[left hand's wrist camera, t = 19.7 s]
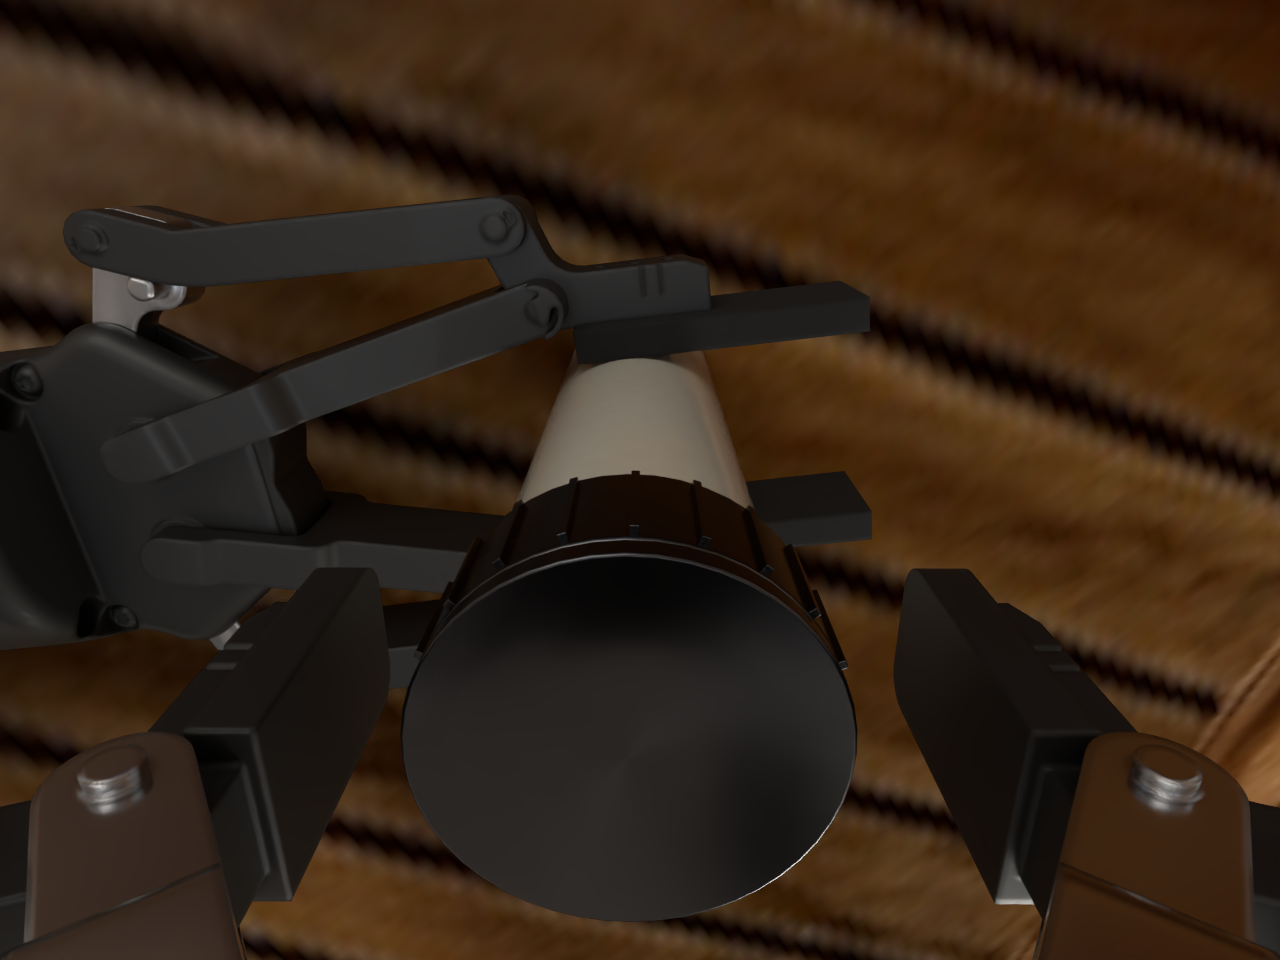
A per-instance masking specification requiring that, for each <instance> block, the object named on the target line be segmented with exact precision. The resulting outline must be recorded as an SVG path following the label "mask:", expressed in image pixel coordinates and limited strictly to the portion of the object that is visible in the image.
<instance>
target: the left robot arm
mask: <svg viewBox="0 0 1280 960" xmlns="http://www.w3.org/2000/svg"><path fill="white" fill-rule="evenodd" d="M389 684H390V658H389V651H388V643H387V636H386V629H385V621H384V614H383V607H382V599H381V592H380V585H379V580H378V577H377V574H376V572H375V570H374V569H373V568H370V567H320V568H316V569H315V570H314V571H313V572H312V573H311V574H310V575H309V577H308V578H307V579H306V580H305V582H304V583H303V584H302V585H301V586H300V588H299V589H298V590H297V591H296V593H295V594H294V595H293V596H292V597H291V599H290V600H289V601H288V602H276V603H274V604H273V605H271V606H269V607H268V608H266V609H264V610H263V611H261V612H259V613H258V614H256V615H255V616H253V617H251V618H250V619H248V620H246V621H245V622H244V623H243V624H242V625H241V626H240V627H239V628H238V630H237V631H236V632H235V633H234V634H233V635H232V636H231V637H230V639H229V640H228V641H227V642H226V643H225V644H224V649H223V650H219V651H218V652H217V653H216V655H215V656H214V657H213V658H212V659H211V660H210V661H209V662H208V664H207V668H206V670H201V672H200V673H199V674H198V675H197V676H196V677H195V678H194V680H193V681H192V682H191V683H190V684H189V685H188V686H187V687H186V689H185V690H184V691H183V692H182V693H181V694H180V695H179V697H178V698H177V699H176V700H175V701H174V702H173V703H172V705H171V706H170V707H169V708H168V709H167V710H166V711H165V712H164V714H163V715H162V716H161V717H160V718H159V719H158V720H157V722H156V723H155V724H154V725H153V726H152V727H151V728H150V730H149V731H148V732H143V733H136V734H131V735H126V736H122V737H119V738H115V739H112V740H109V741H106V742H103V743H101V744H98V745H96V746H94V747H92V748H89V749H87V750H85V751H83V752H81V753H80V754H78V755H76V756H74V757H73V758H71V759H69V760H68V761H66V762H65V763H63V764H62V765H61V766H59V767H58V768H57V769H56V770H54V771H53V772H52V773H51V774H50V775H49V776H48V777H47V778H46V779H45V780H44V781H43V782H42V783H41V785H40V786H39V787H38V789H37V790H36V792H35V794H34V796H33V798H32V800H30V801H25V802H21V803H16V804H11V805H7V806H2V807H0V960H248V959H247V955H246V951H245V947H244V943H243V939H242V935H241V931H240V927H239V925H240V923H241V921H242V920H243V918H244V916H245V914H246V912H247V910H248V908H249V906H250V904H251V903H252V901H291V900H292V898H293V896H294V894H295V892H296V890H297V888H298V886H299V884H300V881H301V879H302V877H303V875H304V873H305V871H306V869H307V867H308V865H309V863H310V861H311V858H312V856H313V854H314V852H315V850H316V848H317V846H318V844H319V842H320V840H321V838H322V835H323V833H324V831H325V829H326V827H327V825H328V823H329V821H330V819H331V817H332V815H333V812H334V810H335V808H336V806H337V804H338V802H339V800H340V798H341V796H342V794H343V792H344V789H345V787H346V785H347V783H348V781H349V779H350V777H351V775H352V773H353V771H354V769H355V767H356V764H357V762H358V760H359V758H360V756H361V754H362V752H363V750H364V748H365V746H366V744H367V741H368V739H369V737H370V735H371V733H372V731H373V729H374V727H375V725H376V723H377V721H378V718H379V716H380V714H381V712H382V710H383V708H384V706H385V703H386V700H387V696H388V691H389ZM894 685H895V692H896V697H897V701H898V704H899V707H900V709H901V711H902V713H903V715H904V717H905V719H906V721H907V724H908V726H909V728H910V730H911V732H912V734H913V736H914V738H915V740H916V742H917V744H918V746H919V748H920V750H921V752H922V754H923V757H924V759H925V761H926V763H927V765H928V767H929V769H930V771H931V773H932V775H933V777H934V779H935V781H936V783H937V785H938V787H939V790H940V792H941V794H942V796H943V798H944V800H945V802H946V804H947V806H948V808H949V810H950V812H951V814H952V816H953V818H954V820H955V823H956V825H957V827H958V829H959V831H960V833H961V835H962V837H963V839H964V841H965V843H966V845H967V847H968V849H969V851H970V853H971V855H972V858H973V860H974V862H975V864H976V866H977V868H978V870H979V872H980V874H981V876H982V878H983V880H984V882H985V884H986V886H987V888H988V891H989V893H990V895H991V897H992V899H993V901H994V903H995V904H1035V906H1036V908H1037V910H1038V912H1039V914H1040V916H1041V917H1042V923H1041V927H1040V931H1039V935H1038V939H1037V943H1036V947H1035V951H1034V955H1033V959H1032V960H1280V808H1278V807H1273V806H1269V805H1264V804H1259V803H1255V802H1251V801H1248V798H1247V796H1246V794H1245V792H1244V790H1243V789H1242V787H1241V786H1240V785H1239V783H1238V782H1237V781H1236V780H1235V779H1234V778H1233V777H1232V776H1231V775H1230V774H1229V773H1228V772H1227V771H1226V770H1224V769H1223V768H1222V767H1221V766H1219V765H1218V764H1217V763H1215V762H1214V761H1212V760H1211V759H1209V758H1207V757H1206V756H1204V755H1202V754H1200V753H1199V752H1197V751H1195V750H1193V749H1191V748H1188V747H1186V746H1184V745H1182V744H1179V743H1177V742H1174V741H1171V740H1168V739H1165V738H1161V737H1158V736H1154V735H1149V734H1144V733H1138V732H1137V731H1136V730H1135V729H1134V727H1133V726H1132V725H1131V724H1130V723H1129V722H1128V721H1127V720H1126V718H1125V717H1124V716H1123V715H1122V714H1121V713H1120V712H1119V711H1118V709H1117V708H1116V707H1115V706H1114V705H1113V704H1112V703H1111V702H1110V700H1109V699H1108V698H1107V697H1106V696H1105V695H1104V694H1103V693H1102V691H1101V690H1100V689H1099V688H1098V687H1097V686H1096V685H1095V684H1094V682H1093V681H1092V680H1091V679H1090V678H1089V677H1088V676H1087V675H1086V673H1085V672H1084V671H1079V666H1078V664H1077V663H1076V662H1075V661H1074V660H1073V659H1072V658H1071V657H1070V655H1069V654H1068V653H1067V652H1066V651H1062V646H1061V645H1060V644H1059V643H1058V642H1057V641H1056V640H1055V639H1054V637H1053V636H1052V635H1051V634H1050V633H1049V632H1048V631H1047V630H1046V628H1045V627H1044V626H1043V625H1042V624H1041V623H1040V622H1038V621H1036V620H1035V619H1033V618H1031V617H1030V616H1028V615H1027V614H1025V613H1023V612H1022V611H1020V610H1018V609H1017V608H1015V607H1013V606H1012V605H1010V604H1009V603H997V602H996V601H995V600H994V599H993V597H992V596H991V595H990V594H989V593H988V591H987V590H986V589H985V588H984V587H983V585H982V584H981V583H980V582H979V581H978V579H977V578H976V577H975V576H974V575H973V573H972V572H971V571H970V570H968V569H912V570H911V571H910V572H909V574H908V576H907V579H906V582H905V588H904V595H903V602H902V609H901V617H900V624H899V631H898V638H897V645H896V653H895V660H894Z"/></svg>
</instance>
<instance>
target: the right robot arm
mask: <svg viewBox="0 0 1280 960" xmlns="http://www.w3.org/2000/svg"><path fill="white" fill-rule="evenodd" d="M63 235H64V240H65V244H66V246H67V247H68V249H69V251H70V252H71V254H72V255H73V256H74V257H75V258H76V259H78V260H79V261H80V262H81V263H83V264H85V265H88V266H90V267H92V268H93V323H89V324H85V325H82V326H80V327H78V328H76V329H74V330H73V331H71V332H70V333H69V334H67V335H66V336H65V337H64V338H63V339H62V340H61V341H60V342H59V343H57V344H56V345H54V346H47V347H39V348H31V349H22V350H14V351H5V352H0V650H9V649H18V648H28V647H38V646H48V645H58V644H67V643H76V642H83V641H89V640H94V639H99V638H103V637H107V636H111V635H116V634H120V633H124V632H128V631H133V630H139V629H146V630H154V631H160V632H164V633H167V634H170V635H173V636H176V637H179V638H182V639H187V640H205V639H210V641H211V642H212V643H213V644H214V645H215V647H216V648H217V649H218V650H223V649H224V644H225V643H226V642H227V641H228V640H229V639H230V637H231V636H232V635H233V634H234V633H235V632H236V631H237V630H238V628H239V627H240V626H241V625H242V624H243V623H244V622H245V621H246V620H248V619H250V618H251V617H253V616H255V615H256V614H258V613H259V612H258V611H257V610H256V609H255V608H254V607H253V606H254V605H255V604H256V603H257V602H258V601H259V600H260V599H261V598H262V597H263V596H264V595H265V594H266V593H267V592H268V591H269V590H270V589H271V588H279V589H290V590H298V589H299V588H300V586H301V585H302V584H303V583H304V582H305V580H306V579H307V578H308V577H309V575H310V574H311V573H312V572H313V571H314V570H315V569H316V568H320V567H370V568H373V569H374V570H375V572H376V574H377V577H378V580H379V585H380V587H382V588H392V589H403V590H414V591H424V592H435V593H443V592H444V590H445V588H446V586H447V584H448V582H449V581H451V582H454V580H455V578H456V576H457V574H458V572H459V569H460V567H461V565H462V563H463V561H464V559H465V556H466V554H467V552H468V550H469V548H470V545H471V543H472V541H473V540H474V539H475V537H476V536H479V537H480V538H481V539H482V538H483V537H484V536H485V535H486V533H487V532H488V531H489V530H490V529H491V528H492V527H493V526H494V525H496V524H497V523H498V522H499V521H500V520H501V519H502V518H504V517H505V516H501V515H490V514H480V513H470V512H460V511H449V510H439V509H429V508H419V507H408V506H398V505H388V504H378V503H371V502H368V501H367V500H366V499H365V497H363V496H361V495H358V494H352V493H342V492H332V491H324V489H323V486H322V483H321V481H320V480H319V478H318V476H317V475H316V473H315V471H314V469H313V468H312V466H311V464H310V463H309V461H308V459H307V450H306V426H305V421H308V420H311V419H313V418H316V417H319V416H322V415H325V414H327V413H330V412H333V411H336V410H339V409H341V408H344V407H347V406H350V405H353V404H355V403H358V402H361V401H364V400H367V399H369V398H372V397H375V396H378V395H381V394H384V393H386V392H389V391H392V390H395V389H398V388H400V387H403V386H406V385H409V384H412V383H414V382H417V381H420V380H423V379H426V378H428V377H431V376H434V375H437V374H440V373H442V372H445V371H448V370H451V369H454V368H456V367H459V366H462V365H465V364H468V363H470V362H473V361H476V360H479V359H482V358H484V357H487V356H490V355H493V354H496V353H499V352H501V351H504V350H507V349H510V348H513V347H515V346H518V345H521V344H524V343H527V342H529V341H532V340H535V339H538V338H541V337H543V336H544V337H545V340H546V341H547V340H548V339H550V338H552V337H553V336H555V335H556V334H557V332H558V331H559V330H561V329H570V328H574V331H573V334H574V341H575V348H576V354H577V361H578V365H580V364H588V363H597V362H606V361H615V360H623V359H632V358H641V357H649V356H658V355H667V354H676V353H684V352H693V351H702V350H710V349H719V348H728V347H736V346H745V345H754V344H763V343H771V342H780V341H789V340H797V339H806V338H815V337H824V336H832V335H841V334H850V333H858V332H867V331H870V314H869V296H867V295H865V294H863V293H861V292H859V291H858V290H856V289H854V288H852V287H850V286H848V285H847V284H845V283H843V282H841V281H835V282H826V283H818V284H809V285H801V286H792V287H784V288H775V289H767V290H758V291H750V292H741V293H733V294H724V295H716V296H711V294H710V282H709V270H708V266H707V264H706V263H705V262H704V260H701V259H697V258H694V257H690V256H687V255H683V254H679V255H671V256H662V257H654V258H646V259H637V260H629V261H621V262H612V263H604V264H596V265H587V266H577V265H573V264H569V263H567V262H566V261H564V260H562V259H561V258H560V257H559V256H558V255H557V254H556V253H555V252H554V250H553V249H552V247H551V246H550V244H549V242H548V240H547V238H546V236H545V234H544V232H543V230H542V228H541V227H540V225H539V223H538V221H537V215H536V212H535V209H534V208H533V206H532V205H531V204H530V203H529V202H528V200H526V199H524V198H522V197H520V196H518V195H500V196H491V197H481V198H472V199H462V200H453V201H443V202H434V203H424V204H415V205H405V206H396V207H386V208H377V209H367V210H358V211H348V212H339V213H329V214H320V215H310V216H301V217H291V218H282V219H272V220H263V221H253V222H244V223H235V224H225V223H221V222H217V221H213V220H209V219H206V218H202V217H198V216H194V215H190V214H186V213H182V212H178V211H174V210H170V209H167V208H163V207H159V206H132V207H116V208H104V209H88V210H80V211H77V212H75V213H72V214H71V215H70V216H69V217H68V219H67V220H66V221H65V224H64V229H63ZM481 258H487V259H488V261H489V263H490V265H491V267H492V268H493V270H494V272H495V274H496V276H497V277H498V279H499V281H500V283H501V285H499V286H496V287H493V288H490V289H488V290H485V291H482V292H480V293H477V294H474V295H471V296H469V297H466V298H463V299H461V300H458V301H455V302H452V303H450V304H447V305H444V306H442V307H439V308H436V309H433V310H431V311H428V312H425V313H422V314H420V315H417V316H414V317H412V318H409V319H406V320H403V321H401V322H398V323H395V324H393V325H390V326H387V327H384V328H382V329H379V330H376V331H374V332H371V333H368V334H365V335H363V336H360V337H357V338H354V339H352V340H349V341H346V342H344V343H341V344H338V345H335V346H333V347H330V348H327V349H325V350H322V351H319V352H313V353H310V354H307V355H304V356H302V357H299V358H296V359H294V360H291V361H288V362H285V363H283V364H280V365H277V366H275V367H272V368H269V369H266V370H264V371H261V372H258V373H257V372H255V371H253V370H251V369H249V368H247V367H245V366H243V365H241V364H239V363H237V362H235V361H233V360H231V359H229V358H227V357H225V356H223V355H221V354H219V353H217V352H215V351H213V350H211V349H209V348H207V347H205V346H203V345H201V344H199V343H197V342H195V341H193V340H190V339H188V338H186V337H184V336H182V335H180V334H178V333H176V332H174V331H172V330H170V329H168V328H166V327H164V326H163V325H161V324H159V323H158V321H159V317H160V315H161V313H162V311H163V310H170V309H174V308H177V307H181V306H184V305H187V304H191V303H193V302H196V301H197V300H199V299H200V298H201V297H202V295H203V293H204V292H205V287H206V286H218V285H228V284H238V283H248V282H257V281H267V280H277V279H287V278H296V277H306V276H316V275H326V274H335V273H345V272H355V271H365V270H374V269H384V268H394V267H403V266H413V265H423V264H433V263H442V262H452V261H462V260H472V259H481ZM746 485H747V488H748V491H749V494H750V497H751V500H752V503H753V506H754V509H755V511H756V514H757V517H758V518H759V519H760V520H762V521H763V522H764V523H765V524H766V525H768V526H769V527H770V528H771V529H772V530H773V532H774V533H775V534H776V535H777V536H778V537H779V538H780V539H781V540H782V541H783V542H784V543H785V545H786V546H787V545H789V544H790V543H791V544H792V545H793V546H794V547H798V546H808V545H818V544H828V543H837V542H847V541H857V540H866V539H872V518H871V510H870V508H869V507H868V505H867V504H866V502H865V501H864V499H863V498H862V496H861V495H860V493H859V492H858V491H857V489H856V488H855V486H854V485H853V483H852V482H851V480H850V479H849V477H848V476H847V474H846V473H845V472H844V471H842V472H832V473H823V474H814V475H804V476H795V477H786V478H776V479H767V480H758V481H748V482H746ZM439 601H440V600H431V601H423V602H414V603H406V604H397V605H389V606H382V607H383V614H384V621H385V629H386V636H387V643H388V651H389V658H390V684H389V689H392V688H401V687H408V686H409V683H410V681H411V679H412V676H413V674H414V672H415V669H416V667H417V665H418V663H419V660H418V659H415V658H414V654H415V652H416V649H417V647H418V645H419V643H420V641H421V639H422V637H423V635H424V632H425V630H426V628H427V626H428V624H429V622H430V620H431V618H432V616H433V614H434V611H435V609H436V607H437V605H438V603H439Z"/></svg>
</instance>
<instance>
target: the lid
mask: <svg viewBox="0 0 1280 960" xmlns="http://www.w3.org/2000/svg"><path fill="white" fill-rule="evenodd" d="M414 658H415V659H418V660H419V663H418V665H417V667H416V669H415V672H414V674H413V676H412V679H411V681H410V683H409V686H408V690H407V694H406V698H405V701H404V705H403V710H402V721H401V732H400V734H401V748H402V759H403V763H404V767H405V772H406V776H407V780H408V783H409V786H410V788H411V791H412V793H413V796H414V798H415V801H416V803H417V805H418V807H419V809H420V810H421V812H422V814H423V816H424V817H425V819H426V821H427V822H428V824H429V826H430V827H431V828H432V829H433V831H434V832H435V833H436V835H437V836H438V837H439V838H440V840H441V841H442V842H443V843H444V845H445V846H446V847H447V848H448V849H449V850H450V851H451V852H452V853H453V854H454V855H455V856H456V857H457V858H459V859H460V860H461V861H462V862H463V863H464V864H465V865H467V866H468V867H469V868H470V869H472V870H473V871H474V872H476V873H477V874H478V875H480V876H481V877H482V878H484V879H485V880H487V881H489V882H490V883H492V884H494V885H495V886H497V887H499V888H500V889H502V890H504V891H505V892H508V893H510V894H512V895H514V896H516V897H518V898H520V899H523V900H525V901H527V902H529V903H532V904H535V905H538V906H541V907H544V908H547V909H550V910H552V911H556V912H561V913H565V914H569V915H573V916H577V917H583V918H590V919H598V920H605V921H627V922H637V921H656V920H665V919H671V918H678V917H685V916H689V915H693V914H697V913H701V912H705V911H709V910H712V909H715V908H718V907H721V906H724V905H726V904H729V903H732V902H735V901H737V900H739V899H741V898H743V897H745V896H747V895H749V894H751V893H753V892H756V891H758V890H760V889H761V888H763V887H764V886H766V885H768V884H769V883H771V882H772V881H774V880H775V879H777V878H779V877H780V876H782V875H783V874H784V873H785V872H787V871H788V870H789V869H790V868H792V867H793V866H794V865H795V864H797V863H798V862H799V861H800V860H801V859H802V858H803V857H804V856H805V855H806V854H807V853H808V852H809V851H810V850H811V849H812V848H813V847H814V846H815V845H816V844H817V843H818V841H819V840H820V839H821V837H822V836H823V835H824V833H825V832H826V831H827V829H828V828H829V826H830V825H831V824H832V822H833V820H834V819H835V817H836V815H837V813H838V811H839V809H840V807H841V806H842V804H843V802H844V799H845V796H846V794H847V791H848V788H849V785H850V782H851V780H852V775H853V770H854V765H855V760H856V754H857V723H856V716H855V709H854V703H853V700H852V697H851V694H850V690H849V687H848V684H847V681H846V678H845V676H844V673H843V671H842V670H843V669H847V668H848V665H847V662H846V659H845V657H844V654H843V652H842V650H841V647H840V645H839V642H838V640H837V637H836V635H835V633H834V630H833V628H832V625H831V623H830V620H829V618H828V616H827V613H826V611H825V608H824V606H823V603H822V601H821V599H820V596H819V594H818V591H817V590H813V591H812V590H811V587H810V585H809V582H808V580H807V577H806V575H805V572H804V570H803V567H802V565H801V562H800V560H799V557H798V555H797V552H796V550H795V548H794V546H793V545H792V544H791V543H790V544H789V545H787V546H786V545H785V543H784V542H783V541H782V540H781V539H780V538H779V537H778V536H777V535H776V534H775V533H774V532H773V530H772V529H771V528H770V527H769V526H768V525H766V524H765V523H764V522H763V521H762V520H760V519H759V518H758V517H757V514H756V511H755V509H754V508H752V507H751V506H750V505H748V506H747V507H746V508H744V507H743V506H741V505H739V504H738V503H736V502H735V501H733V500H731V499H730V498H728V497H726V496H723V495H721V494H719V493H717V492H714V491H712V490H710V489H708V488H706V487H702V483H701V482H700V481H697V480H693V482H692V483H689V482H686V481H683V480H679V479H673V478H667V477H661V476H656V475H640V471H636V470H632V471H631V474H621V475H607V476H599V477H594V478H588V479H583V480H579V479H578V477H575V478H571V479H570V480H569V483H568V484H565V485H562V486H559V487H556V488H553V489H551V490H549V491H546V492H544V493H542V494H540V495H538V496H536V497H534V498H532V499H530V500H528V501H527V502H525V503H524V502H523V501H522V500H519V501H518V502H516V503H515V504H514V507H513V510H512V511H511V512H510V513H508V514H507V515H506V516H505V517H504V518H502V519H501V520H500V521H499V522H498V523H497V524H496V525H494V526H493V527H492V528H491V529H490V530H489V531H488V532H487V533H486V535H485V536H484V537H483V538H482V539H481V538H480V537H479V536H476V537H475V539H474V540H473V541H472V543H471V545H470V548H469V550H468V552H467V554H466V556H465V559H464V561H463V563H462V565H461V567H460V569H459V572H458V574H457V576H456V578H455V580H454V582H451V581H449V582H448V584H447V586H446V588H445V590H444V592H443V595H442V597H441V599H440V601H439V603H438V605H437V607H436V609H435V611H434V614H433V616H432V618H431V620H430V622H429V624H428V626H427V628H426V630H425V632H424V635H423V637H422V639H421V641H420V643H419V645H418V647H417V649H416V652H415V654H414Z"/></svg>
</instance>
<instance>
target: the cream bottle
mask: <svg viewBox="0 0 1280 960" xmlns="http://www.w3.org/2000/svg"><path fill="white" fill-rule="evenodd" d="M632 470H636V471H640V475H656V476H661V477H667V478H673V479H679V480H683V481H686V482H689V483H692V482H693V480H697V481H700V482H701V483H702V487H706V488H708V489H710V490H712V491H714V492H717V493H719V494H721V495H723V496H726V497H728V498H730V499H731V500H733V501H735V502H736V503H738V504H739V505H741V506H743V507H744V508H746V507H747V506H748V505H750V506H751V507H752V508H754V506H753V503H752V500H751V497H750V494H749V491H748V488H747V485H746V481H745V478H744V475H743V472H742V469H741V466H740V463H739V460H738V457H737V454H736V451H735V448H734V445H733V442H732V439H731V436H730V432H729V429H728V426H727V423H726V420H725V417H724V414H723V411H722V408H721V405H720V402H719V399H718V396H717V393H716V390H715V386H714V383H713V380H712V377H711V374H710V371H709V368H708V365H707V362H706V359H705V356H704V353H703V350H702V351H693V352H684V353H676V354H667V355H658V356H649V357H641V358H632V359H623V360H615V361H606V362H597V363H588V364H580V365H578V361H577V354H576V348H575V350H574V352H573V355H572V358H571V360H570V363H569V365H568V368H567V371H566V373H565V376H564V378H563V381H562V384H561V386H560V389H559V391H558V394H557V397H556V399H555V402H554V404H553V407H552V410H551V412H550V415H549V417H548V420H547V423H546V425H545V428H544V430H543V433H542V436H541V438H540V441H539V443H538V446H537V449H536V451H535V454H534V456H533V459H532V462H531V464H530V467H529V469H528V472H527V475H526V477H525V480H524V482H523V485H522V488H521V490H520V493H519V495H518V498H517V501H516V502H518V501H519V500H522V501H523V502H524V503H525V502H527V501H528V500H530V499H532V498H534V497H536V496H538V495H540V494H542V493H544V492H546V491H549V490H551V489H553V488H556V487H559V486H562V485H565V484H568V483H569V480H570V479H571V478H575V477H578V479H579V480H583V479H588V478H594V477H599V476H607V475H621V474H631V471H632Z"/></svg>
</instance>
